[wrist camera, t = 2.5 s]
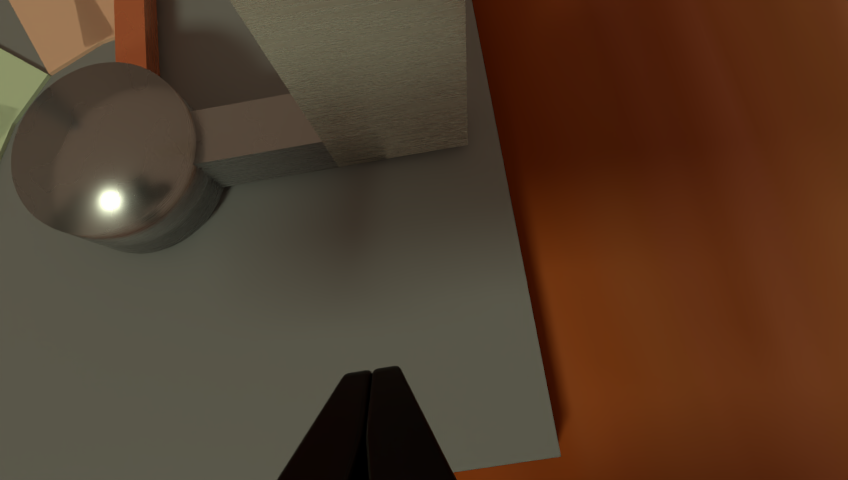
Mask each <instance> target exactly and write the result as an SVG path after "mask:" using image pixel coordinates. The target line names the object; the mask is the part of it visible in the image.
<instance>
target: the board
mask: <svg viewBox="0 0 848 480" xmlns="http://www.w3.org/2000/svg"><path fill="white" fill-rule="evenodd" d="M156 4H157V26H158V47H159V69H160V77H161V78H162V79H163V80H164V81H166V82H167V83H168V84H169V85H170V86H171V87H172V88H173V89H174V90H175V91H176V92H177V93H178V94H179V95H180V96H182V97H183V98H184V99H185V100H186V101H187V102H188V103H189V104H190V105H191V106H192V107H193V108H194V109H195V110H201V109H207V108H212V107H218V106H224V105H229V104H235V103H240V102H246V101H251V100H257V99H262V98H268V97H274V96H279V95H285V94H290V92H289V90H288V89H287V87H286V86H285V84H284V83H283V81H282V80H281V78H280V76H279V75H278V73H277V72H276V70H275V69H274V67H273V66H272V64H271V63H270V61H269V60H268V58H267V57H266V55H265V53H264V52H263V50H262V49H261V47H260V46H259V44H258V43H257V41H256V40H255V38H254V37H253V35H252V34H251V32H250V30H249V29H248V27H247V26H246V24H245V23H244V21H243V20H242V18H241V17H240V15H239V14H238V12H237V11H236V9H235V7H234V6H233V4H232V3H231V1H230V0H156ZM465 15H466V70H467V126H468V145H464V146H458V147H452V148H447V149H441V150H435V151H429V152H423V153H418V154H412V155H406V156H400V157H395V158H389V159H383V160H377V161H372V162H366V163H360V164H354V165H348V166H343V167H337V168H331V169H325V170H320V171H314V172H308V173H302V174H297V175H291V176H285V177H279V178H273V179H268V180H262V181H256V182H250V183H245V184H239V185H233V186H227V187H223V191H222V194H221V197H220V199H219V202H218V203H217V205H216V207H215V209H214V211H213V212H212V214H211V215H210V216H209V218H208V219H207V221H206V222H205V223H204V224H203V225H202V226H201V227H200V228H199V229H198V230H197V231H196V232H195V233H193V234H192V235H191V236H190V237H188V238H187V239H185V240H184V241H182V242H180V243H178V244H176V245H174V246H172V247H170V248H167V249H164V250H161V251H157V252H153V253H144V254H133V253H126V252H121V251H118V250H114V249H111V248H108V247H106V246H103V245H100V244H97V243H94V242H91V241H88V240H85V239H82V238H79V237H76V236H73V235H70V234H67V233H64V232H62V231H59V230H56V229H53V228H51V227H49V226H47V225H45V224H44V223H42V222H41V221H39V220H38V219H37V218H35V217H34V216H33V215H32V214H31V213H30V212H29V211H28V210H27V208H26V207H25V206H24V204H23V203H22V201H21V200H20V198H19V196H18V194H17V192H16V189H15V186H14V183H13V178H12V173H11V154H12V147H13V142H14V138H15V135H16V132H17V129H18V127H19V125H20V123H21V121H22V119H23V117H24V115H25V114H26V112H27V110H28V109H29V107H30V106H31V105H32V104H33V102H34V101H35V100H36V99H37V97H38V96H39V95H40V94H41V93H42V92H43V91H44V90H45V89H47V88H48V87H49V86H50V85H52V84H53V83H54V82H55V81H57V80H59V79H60V78H62V77H63V76H65V75H67V74H69V73H71V72H73V71H75V70H77V69H80V68H83V67H85V66H89V65H93V64H98V63H106V62H116V60H115V21H114V0H0V480H277V479H278V477H279V475H280V474H281V472H282V471H283V469H284V468H285V466H286V465H287V463H288V461H289V460H290V458H291V457H292V455H293V454H294V452H295V450H296V449H297V447H298V446H299V444H300V443H301V441H302V439H303V438H304V436H305V435H306V433H307V432H308V430H309V429H310V427H311V425H312V424H313V422H314V421H315V419H316V418H317V416H318V414H319V413H320V411H321V410H322V408H323V407H324V405H325V403H326V402H327V400H328V399H329V397H330V396H331V394H332V393H333V391H334V389H335V388H336V386H337V385H338V383H339V382H340V380H341V378H342V377H343V376H344V375H345V374H347V373H351V372H357V371H364V370H369V371H371V372H372V373H373V371H374V370H375V369H377V368H383V367H390V366H399V367H400V368H401V370H402V372H403V374H404V376H405V378H406V380H407V382H408V384H409V386H410V388H411V390H412V392H413V394H414V396H415V398H416V400H417V402H418V404H419V406H420V408H421V410H422V412H423V414H424V416H425V418H426V420H427V422H428V424H429V426H430V428H431V430H432V432H433V434H434V436H435V438H436V439H437V441H438V443H439V445H440V447H441V449H442V451H443V453H444V455H445V457H446V459H447V461H448V463H449V465H450V467H451V469H452V471H453V472H459V471H466V470H472V469H479V468H486V467H493V466H499V465H506V464H513V463H520V462H527V461H533V460H540V459H547V458H554V457H561V454H560V449H559V444H558V439H557V434H556V429H555V424H554V418H553V413H552V408H551V403H550V398H549V393H548V388H547V383H546V377H545V372H544V367H543V362H542V357H541V352H540V347H539V342H538V337H537V331H536V326H535V321H534V316H533V311H532V306H531V301H530V296H529V290H528V285H527V280H526V275H525V270H524V265H523V260H522V255H521V250H520V244H519V239H518V234H517V229H516V224H515V219H514V214H513V209H512V204H511V198H510V193H509V188H508V183H507V178H506V173H505V168H504V163H503V157H502V152H501V147H500V142H499V137H498V132H497V127H496V122H495V117H494V111H493V106H492V101H491V96H490V91H489V86H488V81H487V76H486V70H485V65H484V60H483V55H482V50H481V45H480V40H479V35H478V30H477V24H476V19H475V14H474V9H473V4H472V0H465Z"/></svg>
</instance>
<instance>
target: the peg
mask: <svg viewBox="0 0 848 480" xmlns="http://www.w3.org/2000/svg"><path fill="white" fill-rule="evenodd" d="M230 1H231V3H232V4H233V6H234V7H235V9H236V11H237V12H238V14H239V15H240V17H241V18H242V20H243V21H244V23H245V24H246V26H247V27H248V29H249V30H250V32H251V34H252V35H253V37H254V38H255V40H256V41H257V43H258V44H259V46H260V47H261V49H262V50H263V52H264V53H265V55H266V57H267V58H268V60H269V61H270V63H271V64H272V66H273V67H274V69H275V70H276V72H277V73H278V75H279V76H280V78H281V80H282V81H283V83H284V84H285V86H286V87H287V89H288V90H289V92H290V94H285V95H279V96H274V97H268V98H262V99H257V100H251V101H246V102H240V103H235V104H229V105H224V106H218V107H212V108H207V109H201V110H195V109H194V108H193V107H192V106H191V105H190V104H189V103H188V102H187V101H186V100H185V99H184V98H183V97H182V96H180V95H179V94H178V93H177V92H176V91H175V90H174V89H173V88H172V87H171V86H170V85H169V84H168V83H167V82H166V81H164V80H163V79H162V78H161V77H160V69H159V47H158V26H157V4H156V0H114V21H115V60H116V62H106V63H98V64H93V65H89V66H85V67H83V68H80V69H77V70H75V71H73V72H71V73H69V74H67V75H65V76H63V77H62V78H60V79H59V80H57V81H55V82H54V83H53V84H52V85H50V86H49V87H48V88H47V89H45V90H44V91H43V92H42V93H41V94H40V95H39V96H38V97H37V99H36V100H35V101H34V102H33V104H32V105H31V106H30V107H29V109H28V110H27V112H26V114H25V115H24V117H23V119H22V121H21V123H20V125H19V127H18V129H17V132H16V135H15V138H14V142H13V147H12V154H11V173H12V178H13V183H14V186H15V189H16V192H17V194H18V196H19V198H20V200H21V201H22V203H23V204H24V206H25V207H26V208H27V210H28V211H29V212H30V213H31V214H32V215H33V216H34V217H35V218H37V219H38V220H39V221H41V222H42V223H44V224H45V225H47V226H49V227H51V228H53V229H56V230H59V231H62V232H64V233H67V234H70V235H73V236H76V237H79V238H82V239H85V240H88V241H91V242H94V243H97V244H100V245H103V246H106V247H108V248H111V249H114V250H118V251H121V252H126V253H133V254H144V253H153V252H157V251H161V250H164V249H167V248H170V247H172V246H174V245H176V244H178V243H180V242H182V241H184V240H185V239H187V238H188V237H190V236H191V235H192V234H193V233H195V232H196V231H197V230H198V229H199V228H200V227H201V226H202V225H203V224H204V223H205V222H206V221H207V219H208V218H209V216H210V215H211V214H212V212H213V211H214V209H215V207H216V205H217V203H218V202H219V199H220V197H221V194H222V191H223V187H227V186H233V185H239V184H245V183H250V182H256V181H262V180H268V179H273V178H279V177H285V176H291V175H297V174H302V173H308V172H314V171H320V170H325V169H331V168H337V167H343V166H348V165H354V164H360V163H366V162H372V161H377V160H383V159H389V158H395V157H400V156H406V155H412V154H418V153H423V152H429V151H435V150H441V149H447V148H452V147H458V146H464V145H468V126H467V70H466V15H465V0H230Z"/></svg>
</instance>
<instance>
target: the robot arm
mask: <svg viewBox="0 0 848 480" xmlns="http://www.w3.org/2000/svg"><path fill="white" fill-rule="evenodd" d="M277 480H457V479H456V477H455V475H454V473H453V471H452V469H451V467H450V465H449V463H448V461H447V459H446V457H445V455H444V453H443V451H442V449H441V447H440V445H439V443H438V441H437V439H436V438H435V436H434V434H433V432H432V430H431V428H430V426H429V424H428V422H427V420H426V418H425V416H424V414H423V412H422V410H421V408H420V406H419V404H418V402H417V400H416V398H415V396H414V394H413V392H412V390H411V388H410V386H409V384H408V382H407V380H406V378H405V376H404V374H403V372H402V370H401V368H400V367H399V366H390V367H383V368H377V369H375V370H374V371H373V373H372V372H371V371H369V370H364V371H357V372H351V373H347V374H345V375H344V376H343V377H342V378H341V380H340V382H339V383H338V385H337V386H336V388H335V389H334V391H333V393H332V394H331V396H330V397H329V399H328V400H327V402H326V403H325V405H324V407H323V408H322V410H321V411H320V413H319V414H318V416H317V418H316V419H315V421H314V422H313V424H312V425H311V427H310V429H309V430H308V432H307V433H306V435H305V436H304V438H303V439H302V441H301V443H300V444H299V446H298V447H297V449H296V450H295V452H294V454H293V455H292V457H291V458H290V460H289V461H288V463H287V465H286V466H285V468H284V469H283V471H282V472H281V474H280V475H279V477H278V479H277Z"/></svg>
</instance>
